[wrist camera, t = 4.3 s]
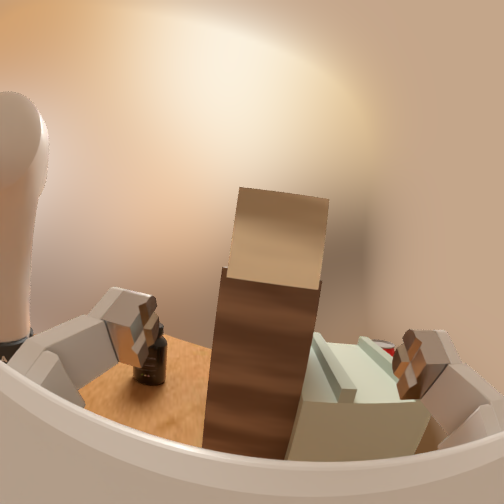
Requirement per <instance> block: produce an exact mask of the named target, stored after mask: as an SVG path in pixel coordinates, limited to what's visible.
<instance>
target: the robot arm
mask: <svg viewBox="0 0 504 504" xmlns="http://www.w3.org/2000/svg"><path fill="white" fill-rule="evenodd" d="M48 155H49V136H48V131H47V127H46V124H45V122H44V120H43V118H42V116H41V114H40V112H39V111H38V109H37V108H36V106H35V105H34V103H33V102H32V101H31V100H30V99H28V98H27V97H26V96H24V95H22V94H19V93H16V92H1V93H0V504H504V396H503V395H502V394H501V393H500V392H499V391H497V390H496V389H495V388H494V387H493V386H492V385H490V384H489V383H488V382H487V381H486V380H485V379H484V378H482V377H481V376H480V375H479V374H478V373H477V372H476V371H474V370H473V369H472V368H471V367H470V366H468V365H467V364H466V363H462V361H461V359H460V356H459V354H458V352H457V350H456V348H455V346H454V344H453V342H452V340H451V338H450V336H449V334H448V332H446V331H445V330H413V329H409V330H408V331H407V332H406V333H405V334H404V336H403V342H404V343H403V344H401V345H400V346H399V347H397V349H396V351H395V353H394V355H393V360H392V369H393V374H394V375H395V376H396V377H397V378H398V379H399V380H398V382H397V384H396V385H397V389H398V393H399V397H400V400H415V399H421V400H420V401H421V402H422V403H423V404H424V406H425V407H426V408H427V410H428V411H429V412H430V413H431V415H432V416H433V417H434V418H435V420H436V421H437V422H438V424H439V425H440V426H441V427H442V428H443V430H444V431H445V433H446V434H447V435H448V437H447V438H445V439H444V440H443V441H442V442H441V443H440V444H439V445H438V450H437V451H433V452H427V453H422V454H416V455H410V456H403V457H396V458H387V459H377V460H365V461H345V462H309V461H289V460H276V459H266V458H257V457H249V456H242V455H236V454H230V453H224V452H219V451H213V450H209V449H204V448H199V447H195V446H191V445H187V444H183V443H179V442H175V441H171V440H168V439H164V438H161V437H158V436H154V435H151V434H148V433H145V432H142V431H139V430H136V429H133V428H130V427H128V426H125V425H122V424H120V423H117V422H114V421H112V420H109V419H107V418H104V417H102V416H100V415H97V414H95V413H93V412H91V411H88V410H86V409H84V407H85V402H84V400H83V398H82V397H81V395H80V393H79V392H78V390H79V389H81V388H82V387H84V386H85V385H87V384H88V383H90V382H91V381H93V380H94V379H95V378H97V377H98V376H100V375H101V374H103V373H104V372H106V371H107V370H109V369H110V368H112V367H113V366H115V365H116V364H118V362H121V363H124V364H128V365H131V366H135V367H139V368H142V366H143V364H144V362H145V360H146V358H147V356H148V354H149V352H148V347H149V346H151V345H153V344H154V343H155V341H156V339H157V336H158V332H159V317H158V315H157V314H156V313H155V312H154V310H155V309H156V307H157V303H156V298H155V297H154V296H152V295H148V294H143V293H139V292H135V291H131V290H126V289H122V288H118V287H112V288H110V289H109V290H108V291H107V293H106V294H105V295H104V296H103V297H102V298H101V300H100V301H99V302H98V303H97V304H96V305H95V307H94V308H93V309H92V310H91V312H90V313H89V314H88V315H81V316H79V317H76V318H74V319H72V320H69V321H67V322H65V323H63V324H60V325H58V326H55V327H53V328H51V329H49V330H46V331H44V332H42V333H39V334H37V335H34V336H33V330H32V328H31V327H30V281H31V260H32V243H33V232H34V223H35V216H36V210H37V204H38V198H39V196H40V195H41V193H42V191H43V188H44V186H45V183H46V179H47V168H48Z"/></svg>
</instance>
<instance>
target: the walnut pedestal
mask: <svg viewBox="0 0 504 504" xmlns="http://www.w3.org/2000/svg"><path fill="white" fill-rule="evenodd" d="M227 270H228V267H222V275H221V281H220V289H219V297H218V305H217V312H216V320H215V329H214V337H213V346H212V354H211V362H210V371H209V381H208V390H207V400H206V410H205V420H204V431H203V442H202V448H204V449H209V450H213V451H219V452H224V453H230V454H236V455H242V456H249V457H257V458H266V459H276V460H284V459H285V455H286V451H287V448H288V444H289V441H290V437H291V433H292V429H293V425H294V421H295V417H296V413H297V409H298V405H299V401H300V396H301V392H302V387H303V383H304V378H305V374H306V369H307V364H308V359H309V354H310V349H311V344H312V338H313V333H314V327H315V322H316V316H317V310H318V304H319V297H320V291H321V284H322V281H319V288H318V290H315V289H307V288H299V287H292V286H284V285H277V284H270V283H263V282H256V281H249V280H242V279H235V278H228V277H227Z"/></svg>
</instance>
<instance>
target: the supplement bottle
mask: <svg viewBox="0 0 504 504" xmlns="http://www.w3.org/2000/svg"><path fill="white" fill-rule="evenodd" d="M163 327H164V326H163V324H161V323H159V332H158V336H157V339H156V341H155V343H154V344H153V345H151V346H149V347H148V352H149V354H148V356H147V358H146V360H145V362H144V364H143V366H142V368H139V367H135V366H133V376H134V378H135V379H136V380H137V381H138V382H140V383H142V384H146V385H158V384H161V383H163V382H164V381H165V378H166V361H167V341H166V339H165V338H164V337H163V336H162V335H163V333H164V332H163Z"/></svg>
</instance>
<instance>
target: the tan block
mask: <svg viewBox="0 0 504 504" xmlns="http://www.w3.org/2000/svg"><path fill="white" fill-rule="evenodd" d="M328 207H329V199H324V198H318V197H312V196H305V195H298V194H291V193H284V192H276V191H267V190H260V189H252V188H243V187H240V188H239V194H238V201H237V208H236V214H235V221H234V228H233V235H232V241H231V248H230V256H229V263H228V270H227V277H228V278H235V279H242V280H249V281H256V282H263V283H270V284H277V285H284V286H292V287H299V288H307V289H315V290H318V288H319V281H320V274H321V267H322V259H323V251H324V244H325V235H326V225H327V216H328Z"/></svg>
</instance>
